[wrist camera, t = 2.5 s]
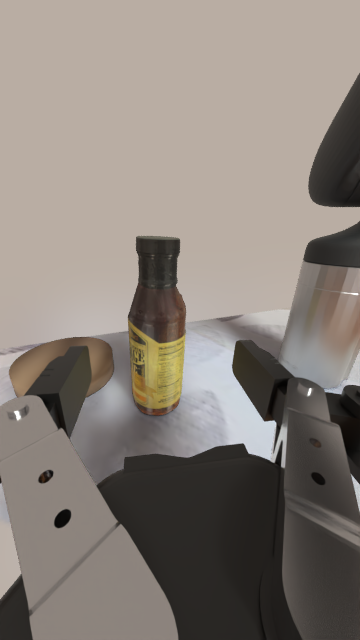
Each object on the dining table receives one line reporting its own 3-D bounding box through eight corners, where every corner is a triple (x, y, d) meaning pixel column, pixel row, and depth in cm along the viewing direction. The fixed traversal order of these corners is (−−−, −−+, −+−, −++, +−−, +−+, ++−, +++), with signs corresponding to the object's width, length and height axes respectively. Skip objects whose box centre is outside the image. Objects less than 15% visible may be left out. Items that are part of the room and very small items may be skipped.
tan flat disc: (118, 350, 38) (117, 335, 37) (106, 402, 26) (103, 383, 25) (41, 353, 36) (38, 338, 35) (-9, 412, 24) (-18, 391, 23)
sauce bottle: (132, 387, 29) (122, 234, 22) (175, 381, 30) (180, 237, 23) (134, 426, 23) (121, 235, 16) (187, 417, 25) (199, 237, 17)
